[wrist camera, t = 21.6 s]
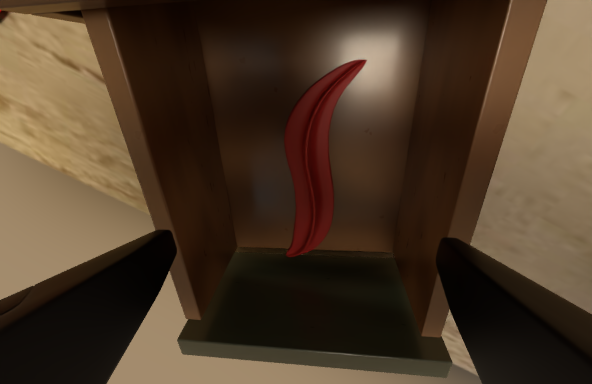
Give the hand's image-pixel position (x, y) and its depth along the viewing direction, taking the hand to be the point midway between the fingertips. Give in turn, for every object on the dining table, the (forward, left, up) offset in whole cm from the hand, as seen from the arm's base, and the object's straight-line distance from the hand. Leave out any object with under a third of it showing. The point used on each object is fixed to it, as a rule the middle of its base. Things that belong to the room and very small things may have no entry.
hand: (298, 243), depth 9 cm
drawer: (-1, 0, -7) cm, 7 cm away
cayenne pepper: (0, 0, -6) cm, 6 cm away
